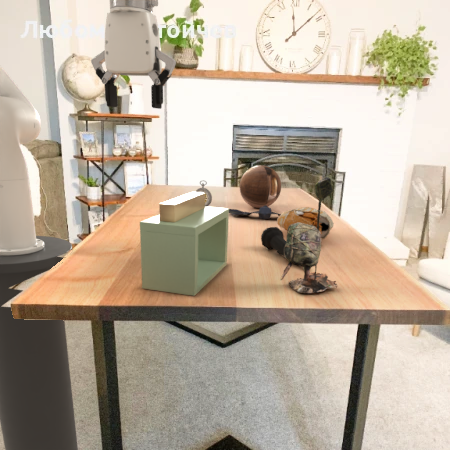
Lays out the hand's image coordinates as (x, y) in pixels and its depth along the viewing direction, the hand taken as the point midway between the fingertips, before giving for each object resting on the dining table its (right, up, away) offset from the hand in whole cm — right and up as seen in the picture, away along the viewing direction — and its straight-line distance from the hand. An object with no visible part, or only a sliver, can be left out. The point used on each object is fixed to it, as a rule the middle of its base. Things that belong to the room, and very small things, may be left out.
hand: (134, 107), depth 87 cm
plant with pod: (+33, -36, -5) cm, 49 cm away
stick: (+10, -22, -5) cm, 25 cm away
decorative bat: (+31, -12, +57) cm, 66 cm away
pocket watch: (+9, -8, +65) cm, 66 cm away
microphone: (+31, -28, +14) cm, 44 cm away
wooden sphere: (+30, -4, +76) cm, 82 cm away
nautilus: (+39, -22, +32) cm, 55 cm away
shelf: (+11, -33, -1) cm, 35 cm away
